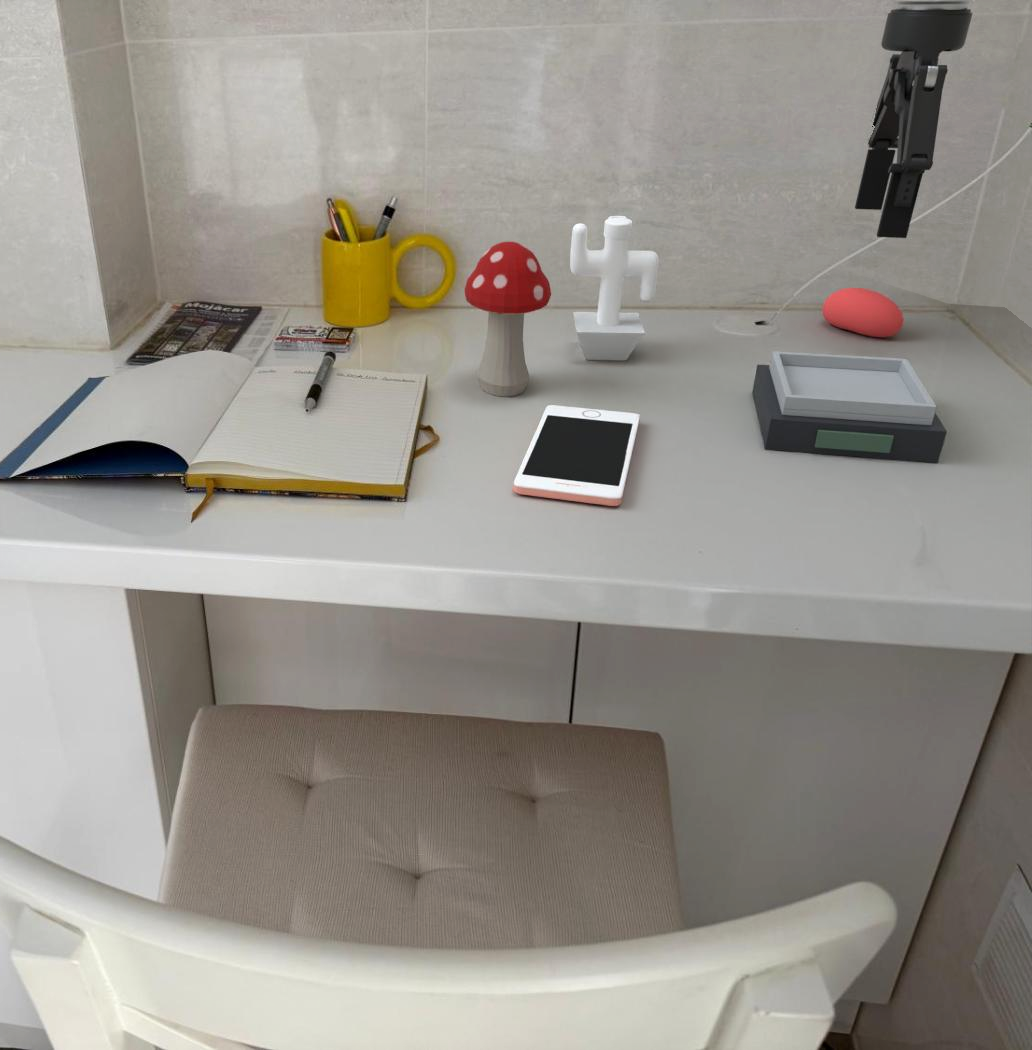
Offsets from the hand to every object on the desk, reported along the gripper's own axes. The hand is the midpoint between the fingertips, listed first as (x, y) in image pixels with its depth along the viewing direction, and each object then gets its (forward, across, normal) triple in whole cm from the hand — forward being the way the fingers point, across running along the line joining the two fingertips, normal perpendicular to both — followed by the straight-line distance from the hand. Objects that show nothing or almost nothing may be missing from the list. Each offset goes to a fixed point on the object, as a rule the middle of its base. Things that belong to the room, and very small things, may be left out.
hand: (878, 222), depth 110 cm
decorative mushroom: (+13, +25, -38) cm, 47 cm away
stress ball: (+13, 0, 0) cm, 13 cm away
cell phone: (+13, +41, -29) cm, 52 cm away
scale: (+12, +29, -6) cm, 32 cm away
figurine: (+13, +13, -28) cm, 33 cm away
